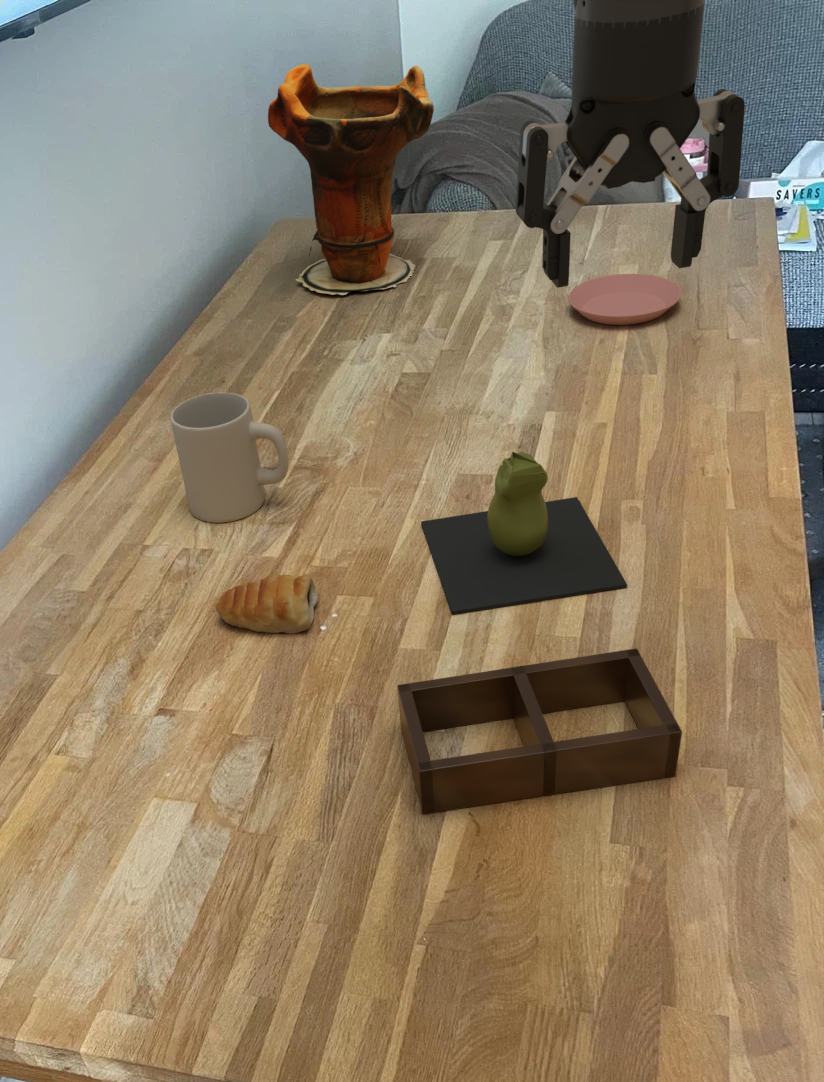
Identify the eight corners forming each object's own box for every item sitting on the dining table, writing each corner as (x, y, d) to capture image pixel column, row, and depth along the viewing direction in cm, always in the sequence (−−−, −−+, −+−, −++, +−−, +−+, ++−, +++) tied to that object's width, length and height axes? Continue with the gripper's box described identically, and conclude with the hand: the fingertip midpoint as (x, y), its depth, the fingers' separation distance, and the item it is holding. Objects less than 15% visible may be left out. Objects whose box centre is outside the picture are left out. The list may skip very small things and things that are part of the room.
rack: (632, 691, 89) (637, 647, 86) (676, 776, 81) (682, 731, 78) (400, 727, 89) (397, 684, 86) (422, 814, 81) (419, 771, 78)
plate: (544, 312, 147) (545, 298, 146) (621, 280, 152) (622, 265, 151) (625, 340, 137) (626, 325, 136) (704, 304, 142) (706, 289, 141)
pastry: (214, 638, 101) (206, 605, 99) (225, 597, 106) (218, 564, 104) (314, 635, 100) (309, 600, 97) (320, 592, 105) (315, 559, 102)
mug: (178, 522, 118) (157, 429, 111) (203, 482, 124) (185, 391, 117) (284, 526, 115) (269, 430, 108) (304, 484, 121) (292, 391, 114)
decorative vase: (444, 290, 158) (437, 70, 139) (286, 309, 160) (259, 96, 142) (433, 242, 173) (426, 39, 155) (289, 260, 176) (265, 62, 157)
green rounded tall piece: (530, 530, 107) (531, 437, 101) (558, 555, 103) (562, 460, 97) (479, 546, 106) (477, 453, 100) (505, 572, 102) (505, 478, 96)
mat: (576, 500, 111) (577, 496, 111) (626, 587, 99) (627, 584, 99) (421, 524, 112) (420, 521, 111) (451, 614, 99) (451, 611, 99)
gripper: (537, 32, 63) (532, 310, 74) (783, -10, 63) (743, 276, 73) (507, 11, 69) (506, 272, 79) (732, -27, 68) (701, 240, 79)
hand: (620, 273), depth 76 cm, fingers open, 8 cm apart
